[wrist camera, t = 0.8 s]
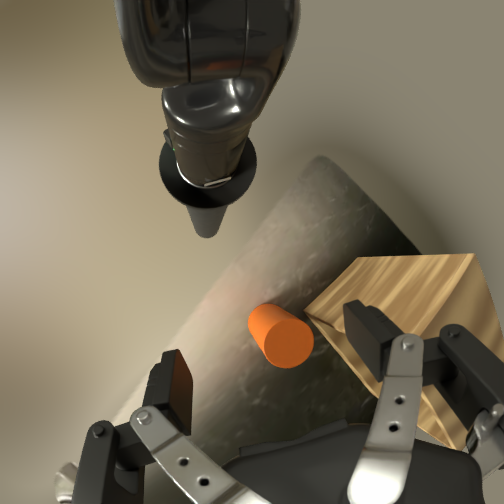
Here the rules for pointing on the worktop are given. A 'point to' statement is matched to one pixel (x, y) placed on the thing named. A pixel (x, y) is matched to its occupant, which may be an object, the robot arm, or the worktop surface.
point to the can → (280, 335)
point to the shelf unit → (414, 317)
